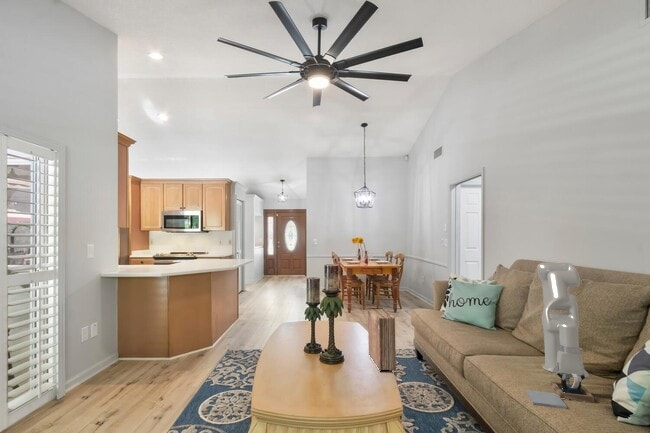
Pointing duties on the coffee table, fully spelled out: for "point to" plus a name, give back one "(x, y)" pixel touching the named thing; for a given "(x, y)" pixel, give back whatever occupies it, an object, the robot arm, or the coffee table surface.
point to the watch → (572, 388)
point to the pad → (545, 399)
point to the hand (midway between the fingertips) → (571, 388)
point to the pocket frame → (585, 397)
